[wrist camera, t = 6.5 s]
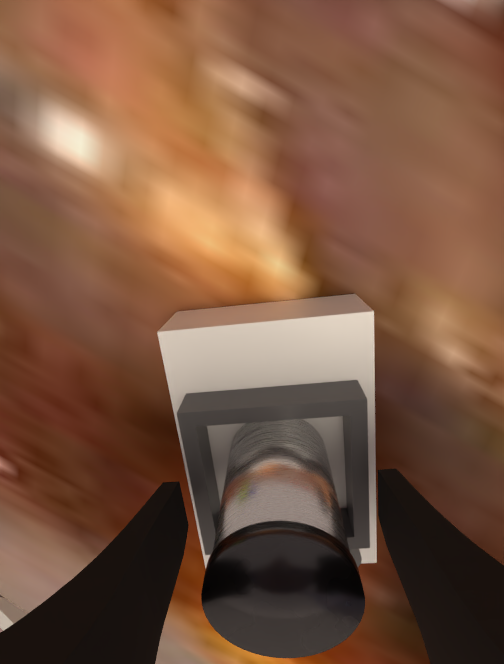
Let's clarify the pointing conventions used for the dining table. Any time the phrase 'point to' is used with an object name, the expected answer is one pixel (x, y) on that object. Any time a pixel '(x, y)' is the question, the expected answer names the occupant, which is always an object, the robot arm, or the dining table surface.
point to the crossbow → (9, 613)
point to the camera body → (277, 396)
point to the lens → (281, 547)
